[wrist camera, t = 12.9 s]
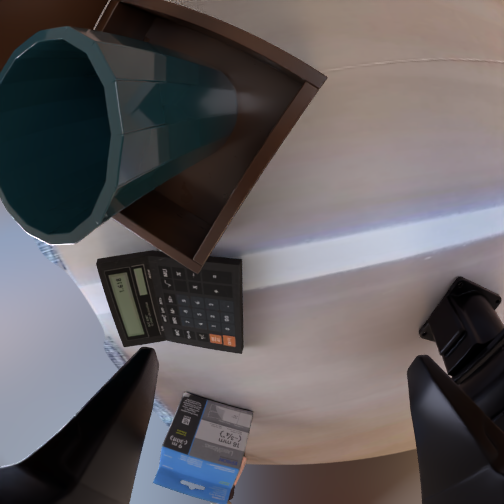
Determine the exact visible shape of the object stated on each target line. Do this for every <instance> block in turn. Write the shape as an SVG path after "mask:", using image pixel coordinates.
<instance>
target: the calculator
mask: <svg viewBox="0 0 504 504" xmlns="http://www.w3.org/2000/svg"><path fill="white" fill-rule="evenodd" d="M96 265H97V269H98V272H99V276H100V279H101V282H102V286H103V289H104V292H105V295H106V298H107V302H108V305H109V308H110V311H111V313H112V316H113V319H114V322H115V325H116V328H117V330H118V333H119V336H120V338H121V341H122V343H123V346H124V347H129V346H135V345H142V344H148V343H154V342H160V341H166V340H167V341H172V342H176V343H181V344H187V345H192V346H197V347H203V348H208V349H214V350H220V351H226V352H233V353H240V354H242V351H243V347H244V345H243V293H242V259H232V258H222V257H212V256H209V257H208V259H207V260H206V262H205V264H204V265H203V267H202V268H201V270H200V272H199V273H198V274H197V273H195V272H193V271H192V270H190V269H189V268H187V267H186V266H184V265H182V264H181V263H179V262H178V261H176V260H174V259H173V258H171V257H170V256H168V255H167V254H165V253H164V252H162V251H146V252H140V253H133V254H126V255H120V256H113V257H107V258H100V259H97V263H96Z"/></svg>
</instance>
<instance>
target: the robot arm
mask: <svg viewBox="0 0 504 504" xmlns="http://www.w3.org/2000/svg"><path fill="white" fill-rule="evenodd" d="M460 282H461V283H460ZM459 283H460V284H459ZM458 284H459V285H458ZM500 302H501V297H500V296H499V295H498V294H496V293H494V292H492V291H490V290H488V289H486V288H484V287H482V286H480V285H478V284H476V283H474V282H472V281H469V280H467V279H465V278H463V277H458V278H457V279H456V280H455V281H454V283H453V284H452V286H451V287H450V289H449V290H448V292H447V293H446V295H445V296H444V297H443V299H442V300H441V302H440V303H439V305H438V306H437V307H436V309H435V310H434V312H433V313H432V314H431V316H430V317H429V318H428V320H427V321H426V322H425V324H424V325H423V326H422V328H421V329H420V330H419V335H420V337H421V338H423V339H427V340H430V341H434V342H436V345H437V348H438V351H439V353H440V355H441V356H442V358H443V361H444V364H445V367H446V370H447V373H448V375H450V376H452V378H450V377H449V376H448V375H447V374H446V373H445V372H444V371H443V370H442V369H441V368H440V367H439V366H438V365H437V364H436V363H435V362H434V361H433V360H432V359H431V358H430V357H429V356H428V355H418V356H417V357H416V358H415V359H414V361H413V362H412V364H411V365H410V367H409V368H408V371H407V379H408V388H409V399H410V409H411V416H412V422H413V427H414V434H415V440H416V447H417V454H418V462H419V471H420V481H421V493H422V504H504V325H503V323H502V321H501V320H500V318H499V317H498V315H497V313H496V312H495V310H496V308H497V307H498V305H499V304H500ZM424 332H425V333H424ZM158 370H159V363H158V359H157V356H156V352H155V350H154V349H153V348H149V347H141V348H140V349H139V350H138V351H137V352H136V353H135V354H134V355H133V356H132V357H131V358H130V359H129V360H128V361H127V362H126V363H125V364H124V365H123V366H122V367H121V368H120V369H119V370H118V371H117V373H115V374H114V376H113V377H112V378H111V379H110V380H109V381H108V382H107V383H106V384H105V385H104V386H103V387H102V388H101V389H100V390H99V391H98V392H97V393H96V394H95V395H94V396H93V397H92V398H91V399H90V400H89V401H88V402H87V403H86V404H85V405H84V406H83V407H82V408H81V409H80V410H79V411H78V412H77V413H76V415H75V416H73V417H72V419H70V421H69V422H68V423H67V424H66V425H65V426H64V427H62V428H61V430H59V431H58V433H56V434H55V435H54V436H53V437H51V438H50V439H49V440H48V441H47V442H45V443H44V444H43V445H42V446H40V447H39V448H38V449H37V450H36V451H34V452H33V453H32V454H31V455H29V456H28V457H26V458H25V459H24V460H22V461H20V462H18V463H15V464H12V465H7V466H2V467H0V504H129V502H130V498H131V493H132V489H133V484H134V480H135V476H136V471H137V467H138V463H139V459H140V454H141V451H142V447H143V443H144V439H145V435H146V431H147V428H148V424H149V420H150V416H151V412H152V408H153V402H154V396H155V389H156V383H157V376H158Z"/></svg>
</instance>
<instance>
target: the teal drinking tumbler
mask: <svg viewBox="0 0 504 504" xmlns="http://www.w3.org/2000/svg"><path fill="white" fill-rule="evenodd" d="M237 115H238V101H237V96H236V93H235V90H234V87H233V85H232V83H231V82H230V80H229V79H228V77H227V76H226V75H225V74H224V73H223V72H222V71H221V70H219V69H218V68H217V67H215V66H213V65H212V64H209V63H208V62H206V61H204V60H201V59H199V58H196V57H193V56H190V55H187V54H184V53H181V52H178V51H175V50H172V49H169V48H165V47H162V46H159V45H155V44H152V43H148V42H145V41H141V40H137V39H133V38H129V37H125V36H121V35H116V34H112V33H107V32H102V31H96V30H91V29H85V28H79V27H72V26H62V27H56V28H50V29H44V30H40V31H38V32H36V33H35V34H34V35H32V36H31V37H30V38H29V39H27V40H26V41H25V42H23V43H22V44H21V45H20V46H19V47H17V48H16V49H15V50H14V51H13V53H12V54H11V56H10V57H9V59H8V60H7V62H6V64H5V65H4V67H3V69H2V70H1V72H0V198H1V200H2V202H3V204H4V206H5V208H6V210H7V212H8V213H9V214H10V215H11V216H12V218H13V219H14V220H15V221H16V222H17V223H18V224H19V225H20V226H21V228H22V229H23V230H24V231H25V232H27V233H28V234H30V235H31V236H33V237H35V238H37V239H39V240H41V241H43V242H45V243H47V244H49V245H63V244H76V243H78V242H79V241H81V240H82V239H83V238H85V237H86V236H87V235H89V234H90V233H91V232H93V231H94V230H95V229H97V228H98V227H99V226H101V225H102V224H104V223H105V222H106V221H108V220H109V219H110V218H112V217H113V216H115V215H116V214H118V213H119V212H120V211H122V210H123V209H125V208H126V207H128V206H129V205H131V204H132V203H134V202H135V201H137V200H138V199H140V198H141V197H143V196H144V195H146V194H147V193H149V192H150V191H152V190H154V189H155V188H157V187H158V186H160V185H161V184H163V183H165V182H166V181H168V180H169V179H171V178H173V177H174V176H176V175H178V174H179V173H181V172H183V171H184V170H186V169H188V168H189V167H191V166H193V165H194V164H196V163H198V162H200V161H201V160H203V159H205V158H206V157H208V156H210V155H212V154H213V153H215V152H217V151H218V150H219V149H220V148H221V147H222V146H223V145H224V144H225V143H226V141H227V140H228V139H229V137H230V136H231V134H232V132H233V130H234V127H235V124H236V120H237Z"/></svg>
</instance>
